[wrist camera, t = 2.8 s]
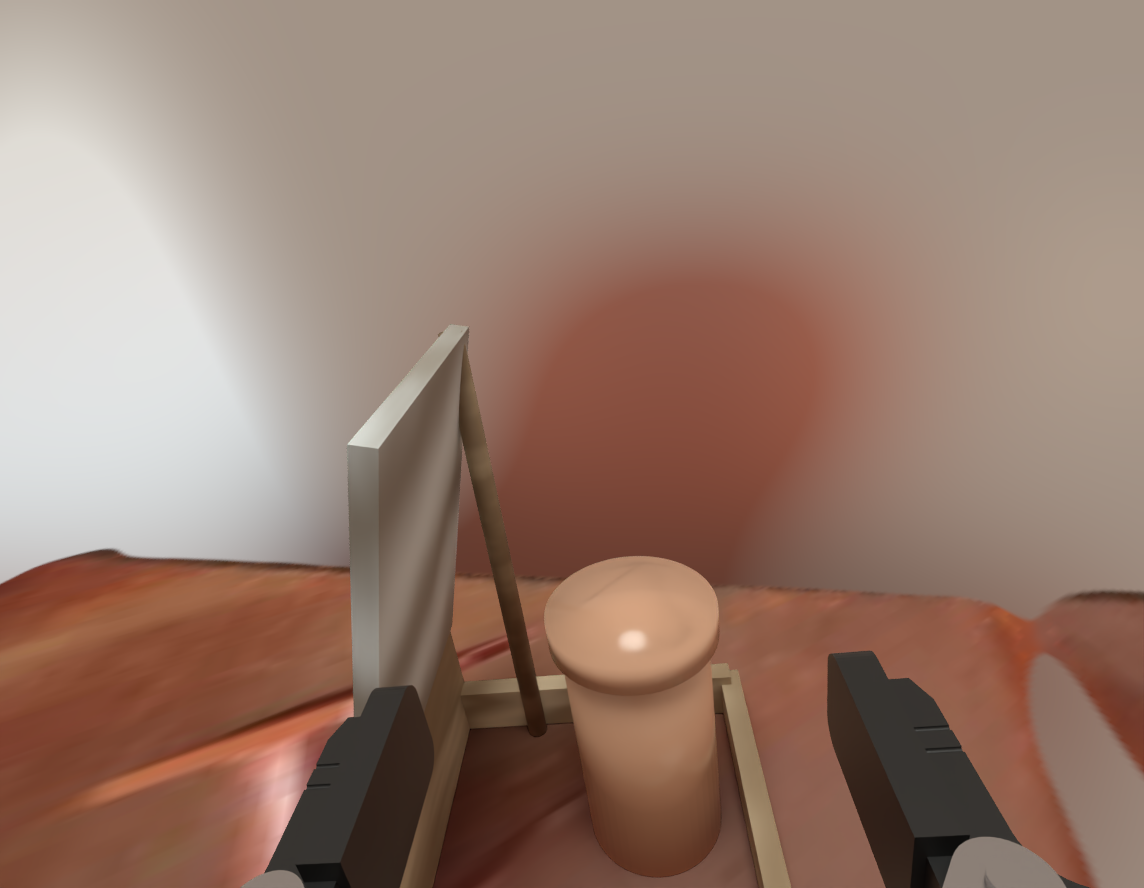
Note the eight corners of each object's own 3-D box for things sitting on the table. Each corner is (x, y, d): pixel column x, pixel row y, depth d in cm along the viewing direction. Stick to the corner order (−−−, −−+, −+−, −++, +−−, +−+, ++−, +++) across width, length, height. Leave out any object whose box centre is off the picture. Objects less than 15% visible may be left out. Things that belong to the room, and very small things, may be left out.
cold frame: (387, 977, 26) (161, 472, 17) (456, 715, 38) (346, 334, 28) (802, 968, 24) (808, 402, 15) (738, 697, 36) (720, 286, 27)
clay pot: (580, 889, 28) (535, 676, 23) (585, 754, 34) (551, 563, 29) (742, 883, 27) (732, 662, 22) (718, 746, 33) (705, 549, 28)
